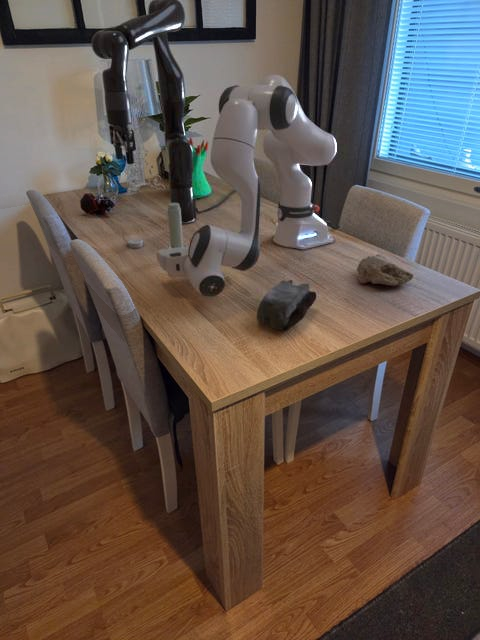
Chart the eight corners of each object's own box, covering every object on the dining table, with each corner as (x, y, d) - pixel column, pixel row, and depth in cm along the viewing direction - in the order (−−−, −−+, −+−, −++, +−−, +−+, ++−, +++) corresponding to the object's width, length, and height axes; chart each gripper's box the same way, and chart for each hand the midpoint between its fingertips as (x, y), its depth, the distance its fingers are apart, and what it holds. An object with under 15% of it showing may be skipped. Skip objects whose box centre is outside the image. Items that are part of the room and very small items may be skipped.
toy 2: (167, 190, 223) (163, 137, 210) (207, 188, 227) (205, 135, 214) (172, 202, 206) (167, 145, 193) (214, 199, 210) (213, 143, 197)
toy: (107, 186, 182) (78, 185, 188) (99, 205, 180) (70, 204, 185) (122, 203, 193) (95, 201, 198) (115, 222, 190) (87, 220, 196)
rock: (291, 341, 110) (294, 313, 105) (251, 329, 114) (251, 302, 110) (317, 308, 123) (320, 283, 119) (280, 299, 128) (281, 274, 124)
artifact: (374, 296, 130) (415, 290, 135) (381, 274, 126) (423, 268, 131) (341, 267, 144) (380, 262, 149) (346, 246, 140) (385, 242, 145)
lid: (135, 249, 159) (135, 244, 158) (125, 246, 162) (124, 241, 161) (146, 244, 163) (145, 240, 162) (135, 241, 165) (134, 237, 164)
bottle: (182, 253, 156) (178, 201, 147) (185, 257, 153) (181, 205, 143) (170, 255, 155) (165, 203, 145) (173, 259, 152) (168, 206, 142)
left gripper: (98, 106, 141) (106, 159, 150) (116, 110, 131) (123, 167, 140) (120, 104, 145) (126, 156, 153) (139, 108, 135) (145, 164, 144)
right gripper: (230, 247, 130) (216, 231, 141) (161, 257, 124) (152, 240, 135) (230, 267, 133) (217, 250, 144) (163, 278, 127) (154, 259, 138)
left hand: (125, 161), depth 147 cm, fingers open, 8 cm apart
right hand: (185, 245), depth 139 cm, fingers open, 8 cm apart
